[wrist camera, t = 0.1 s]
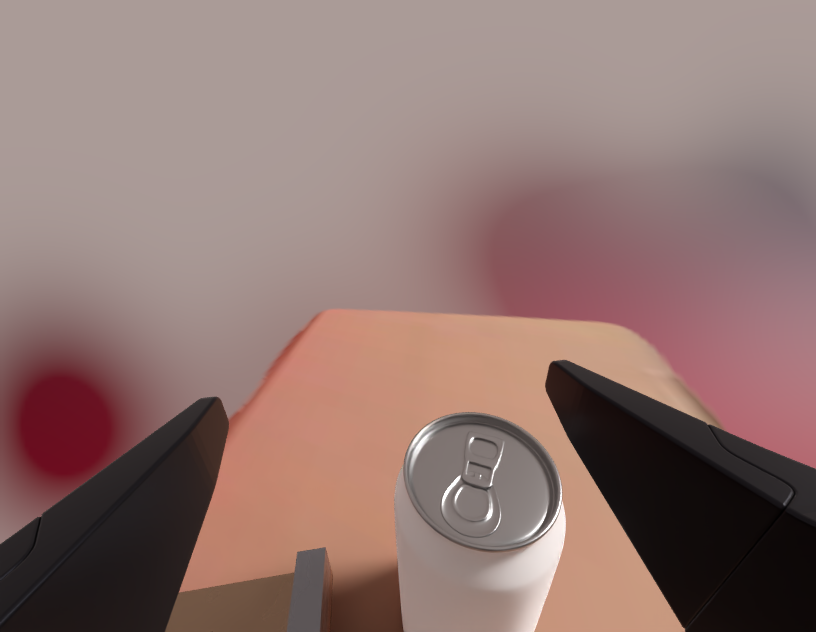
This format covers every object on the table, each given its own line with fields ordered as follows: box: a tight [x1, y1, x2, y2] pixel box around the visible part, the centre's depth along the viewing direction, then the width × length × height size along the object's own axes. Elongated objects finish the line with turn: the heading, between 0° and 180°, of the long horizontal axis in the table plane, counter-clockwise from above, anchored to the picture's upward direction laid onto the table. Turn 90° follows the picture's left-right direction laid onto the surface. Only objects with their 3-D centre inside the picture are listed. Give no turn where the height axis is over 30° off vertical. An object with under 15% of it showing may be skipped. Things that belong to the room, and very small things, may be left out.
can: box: [394, 412, 566, 632], centre depth 15 cm, size 6×6×12 cm
